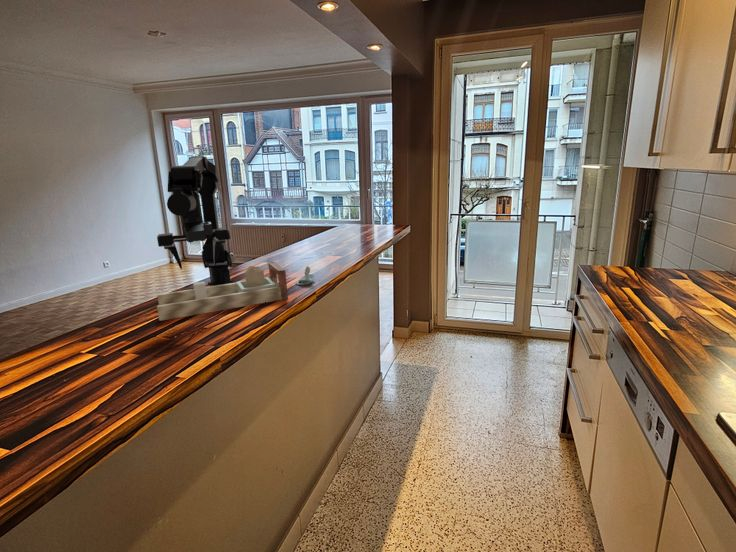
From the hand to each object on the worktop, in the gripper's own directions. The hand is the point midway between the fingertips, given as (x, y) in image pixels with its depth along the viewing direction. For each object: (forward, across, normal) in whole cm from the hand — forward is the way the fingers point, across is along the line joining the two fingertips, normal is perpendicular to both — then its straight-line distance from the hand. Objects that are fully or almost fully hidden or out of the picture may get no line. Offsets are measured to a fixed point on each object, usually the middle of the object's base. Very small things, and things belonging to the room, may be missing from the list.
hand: (198, 266), depth 118 cm
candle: (+12, +16, 0) cm, 20 cm away
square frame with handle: (+12, +9, 0) cm, 15 cm away
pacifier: (+12, +34, +7) cm, 36 cm away
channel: (+12, +6, 0) cm, 13 cm away
